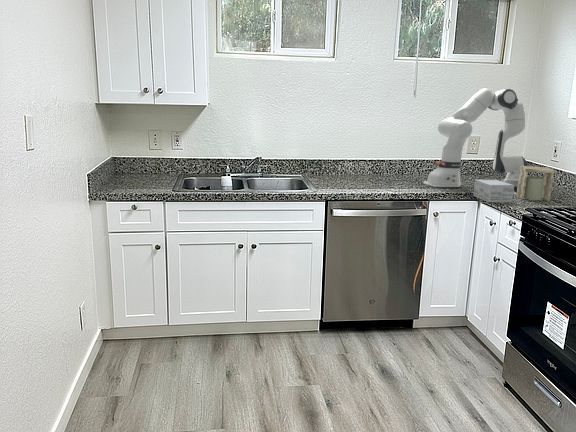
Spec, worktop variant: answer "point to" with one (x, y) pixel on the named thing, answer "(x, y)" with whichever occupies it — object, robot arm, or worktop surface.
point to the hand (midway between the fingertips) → (526, 185)
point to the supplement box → (493, 190)
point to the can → (534, 188)
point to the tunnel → (547, 182)
